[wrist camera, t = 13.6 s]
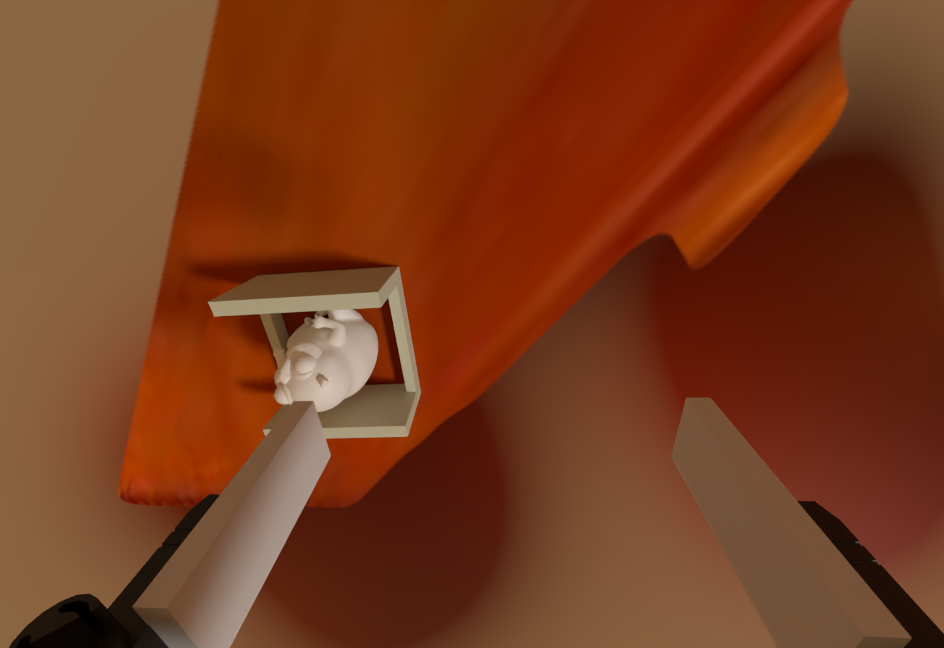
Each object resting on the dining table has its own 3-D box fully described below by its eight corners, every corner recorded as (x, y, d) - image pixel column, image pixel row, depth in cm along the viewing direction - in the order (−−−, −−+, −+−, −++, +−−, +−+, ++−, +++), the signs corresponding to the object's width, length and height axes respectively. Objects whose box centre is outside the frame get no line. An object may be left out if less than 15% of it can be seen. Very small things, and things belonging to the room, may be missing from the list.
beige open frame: (258, 275, 41) (208, 302, 34) (398, 266, 40) (377, 292, 33) (300, 396, 49) (267, 439, 41) (420, 392, 47) (407, 436, 40)
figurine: (404, 345, 44) (375, 408, 33) (349, 383, 47) (306, 453, 36) (346, 283, 41) (293, 331, 30) (291, 328, 44) (225, 386, 33)
